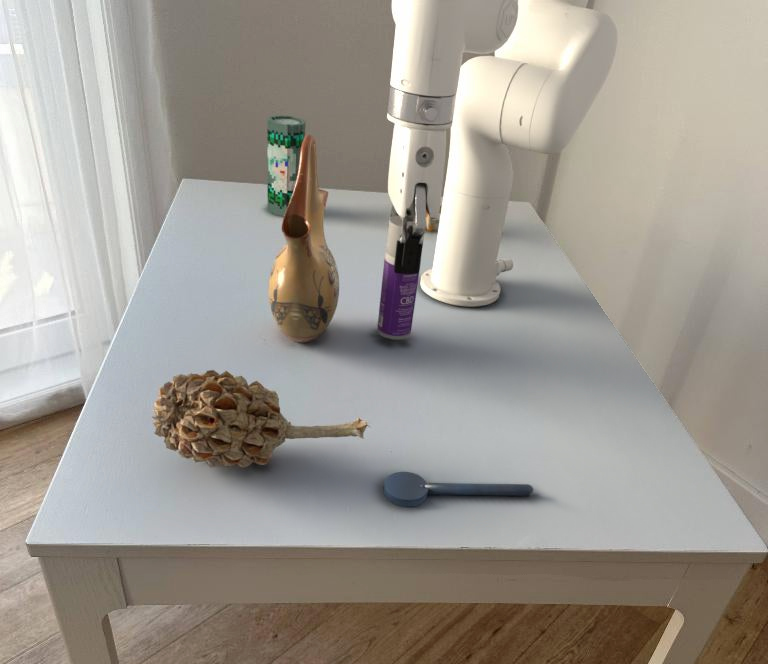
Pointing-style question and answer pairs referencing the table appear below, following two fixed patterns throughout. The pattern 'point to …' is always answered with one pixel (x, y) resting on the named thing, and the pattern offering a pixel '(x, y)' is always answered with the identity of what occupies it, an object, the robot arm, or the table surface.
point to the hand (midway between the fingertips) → (402, 262)
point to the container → (396, 291)
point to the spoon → (441, 489)
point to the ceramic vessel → (304, 259)
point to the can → (283, 159)
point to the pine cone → (229, 420)
